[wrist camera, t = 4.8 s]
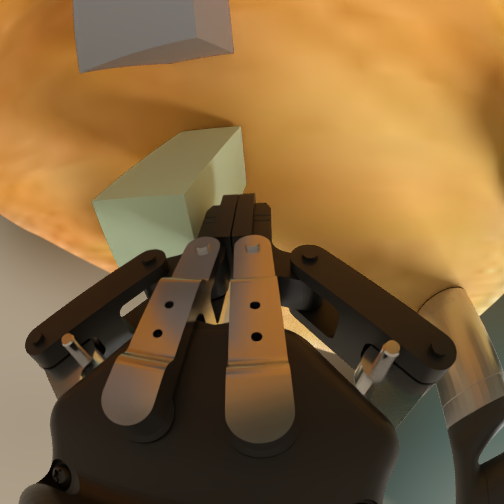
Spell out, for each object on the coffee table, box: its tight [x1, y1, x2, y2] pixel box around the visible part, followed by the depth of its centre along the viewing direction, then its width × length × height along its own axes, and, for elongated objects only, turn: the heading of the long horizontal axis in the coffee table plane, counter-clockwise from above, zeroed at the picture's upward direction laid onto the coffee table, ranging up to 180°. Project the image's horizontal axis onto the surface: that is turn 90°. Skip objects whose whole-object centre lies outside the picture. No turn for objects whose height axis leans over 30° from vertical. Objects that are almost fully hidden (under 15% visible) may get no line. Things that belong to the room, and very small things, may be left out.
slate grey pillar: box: [73, 0, 234, 73], centre depth 11 cm, size 5×5×12 cm
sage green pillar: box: [92, 126, 247, 268], centre depth 17 cm, size 5×5×12 cm
